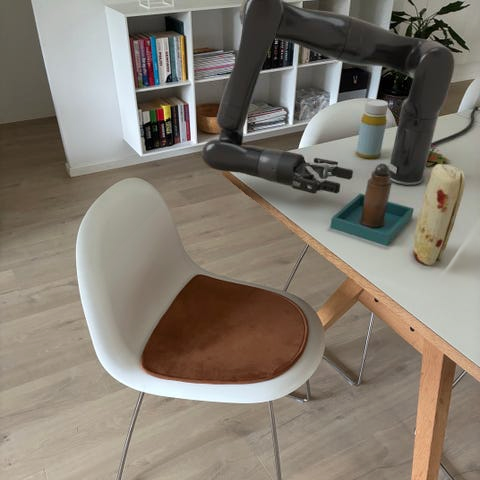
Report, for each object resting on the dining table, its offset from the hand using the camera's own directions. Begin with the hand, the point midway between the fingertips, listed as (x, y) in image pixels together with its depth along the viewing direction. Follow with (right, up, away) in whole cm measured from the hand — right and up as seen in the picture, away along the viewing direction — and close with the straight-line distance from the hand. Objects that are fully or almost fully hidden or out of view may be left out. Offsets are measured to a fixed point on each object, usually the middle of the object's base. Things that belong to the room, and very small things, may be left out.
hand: (345, 181), depth 119 cm
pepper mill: (+7, -9, +3) cm, 11 cm away
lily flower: (+31, +15, +35) cm, 49 cm away
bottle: (+14, +17, +37) cm, 43 cm away
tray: (+6, -9, +3) cm, 12 cm away
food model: (+15, -19, -8) cm, 25 cm away
